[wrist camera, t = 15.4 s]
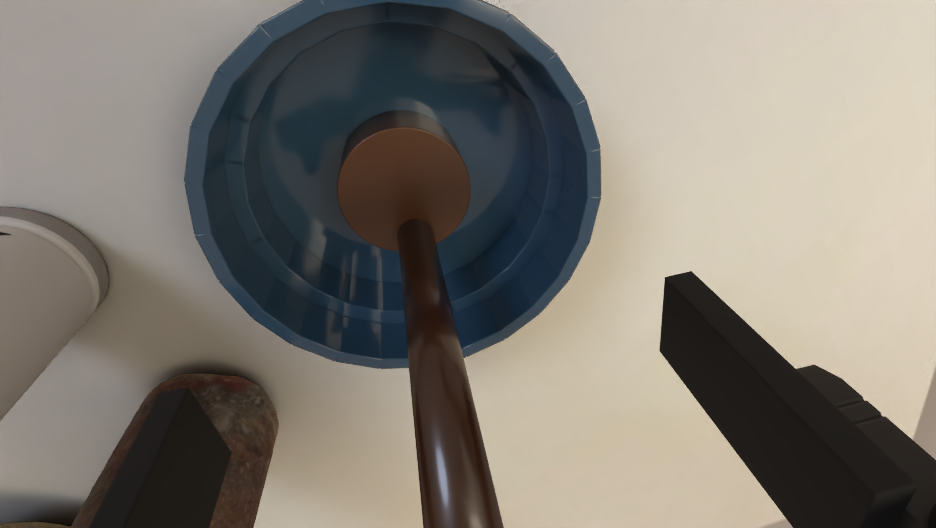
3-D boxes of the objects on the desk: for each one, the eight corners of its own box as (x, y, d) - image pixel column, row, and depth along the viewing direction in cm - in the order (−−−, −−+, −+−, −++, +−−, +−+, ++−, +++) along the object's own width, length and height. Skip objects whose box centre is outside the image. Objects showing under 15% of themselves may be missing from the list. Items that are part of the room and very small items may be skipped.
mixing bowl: (166, 20, 19) (89, 34, 14) (540, -49, 20) (598, -61, 15) (298, 322, 27) (280, 402, 22) (561, 262, 28) (603, 325, 23)
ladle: (325, 123, 21) (201, 474, 6) (449, 98, 22) (628, 372, 6) (359, 234, 24) (334, 660, 9) (468, 211, 24) (622, 582, 9)
